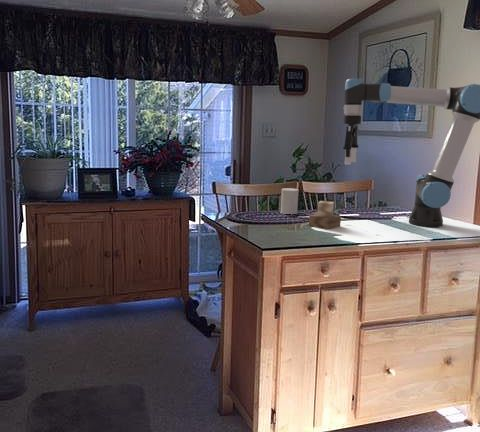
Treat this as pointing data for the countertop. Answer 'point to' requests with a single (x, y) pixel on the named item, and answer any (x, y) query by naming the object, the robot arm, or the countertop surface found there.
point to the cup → (289, 201)
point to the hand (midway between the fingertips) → (350, 163)
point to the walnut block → (324, 221)
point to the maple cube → (325, 209)
